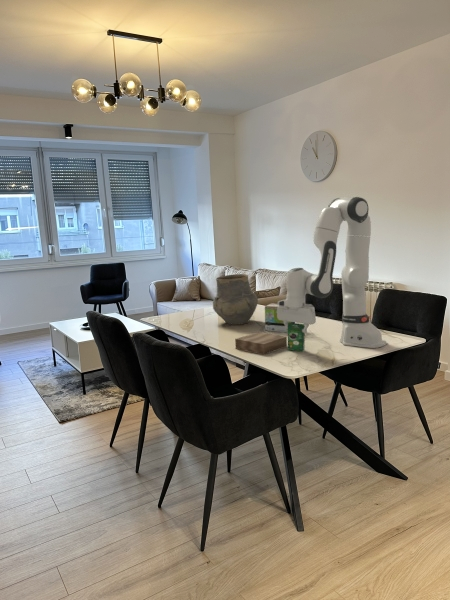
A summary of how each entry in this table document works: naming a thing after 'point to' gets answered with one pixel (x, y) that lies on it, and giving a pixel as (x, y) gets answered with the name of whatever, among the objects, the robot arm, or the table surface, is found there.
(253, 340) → the block
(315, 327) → the table surface
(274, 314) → the tea box
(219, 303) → the ceramic pot
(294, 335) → the coffee box
